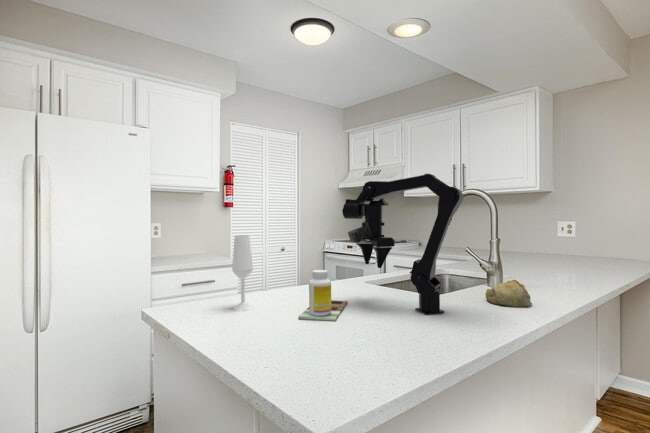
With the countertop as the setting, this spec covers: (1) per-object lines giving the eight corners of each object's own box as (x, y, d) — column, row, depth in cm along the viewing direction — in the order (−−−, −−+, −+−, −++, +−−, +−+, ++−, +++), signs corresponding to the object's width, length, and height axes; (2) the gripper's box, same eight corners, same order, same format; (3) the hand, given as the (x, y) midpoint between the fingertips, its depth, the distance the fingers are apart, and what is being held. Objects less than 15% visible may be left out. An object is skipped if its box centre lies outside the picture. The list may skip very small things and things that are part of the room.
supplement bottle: (336, 314, 110) (335, 271, 110) (318, 318, 106) (317, 273, 106) (322, 309, 115) (322, 268, 115) (305, 313, 111) (304, 270, 111)
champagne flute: (228, 310, 119) (227, 236, 119) (238, 305, 126) (237, 234, 126) (248, 311, 118) (246, 236, 118) (256, 305, 124) (255, 234, 124)
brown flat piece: (316, 302, 129) (316, 299, 129) (347, 303, 126) (347, 300, 126) (298, 319, 108) (298, 316, 108) (335, 321, 105) (335, 318, 105)
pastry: (540, 306, 120) (540, 281, 120) (513, 310, 115) (513, 284, 115) (503, 297, 133) (503, 275, 133) (478, 301, 128) (477, 278, 127)
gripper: (340, 218, 129) (340, 263, 129) (363, 220, 112) (362, 271, 112) (369, 218, 133) (369, 261, 133) (395, 220, 115) (395, 269, 115)
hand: (373, 265), depth 123 cm, fingers open, 9 cm apart
